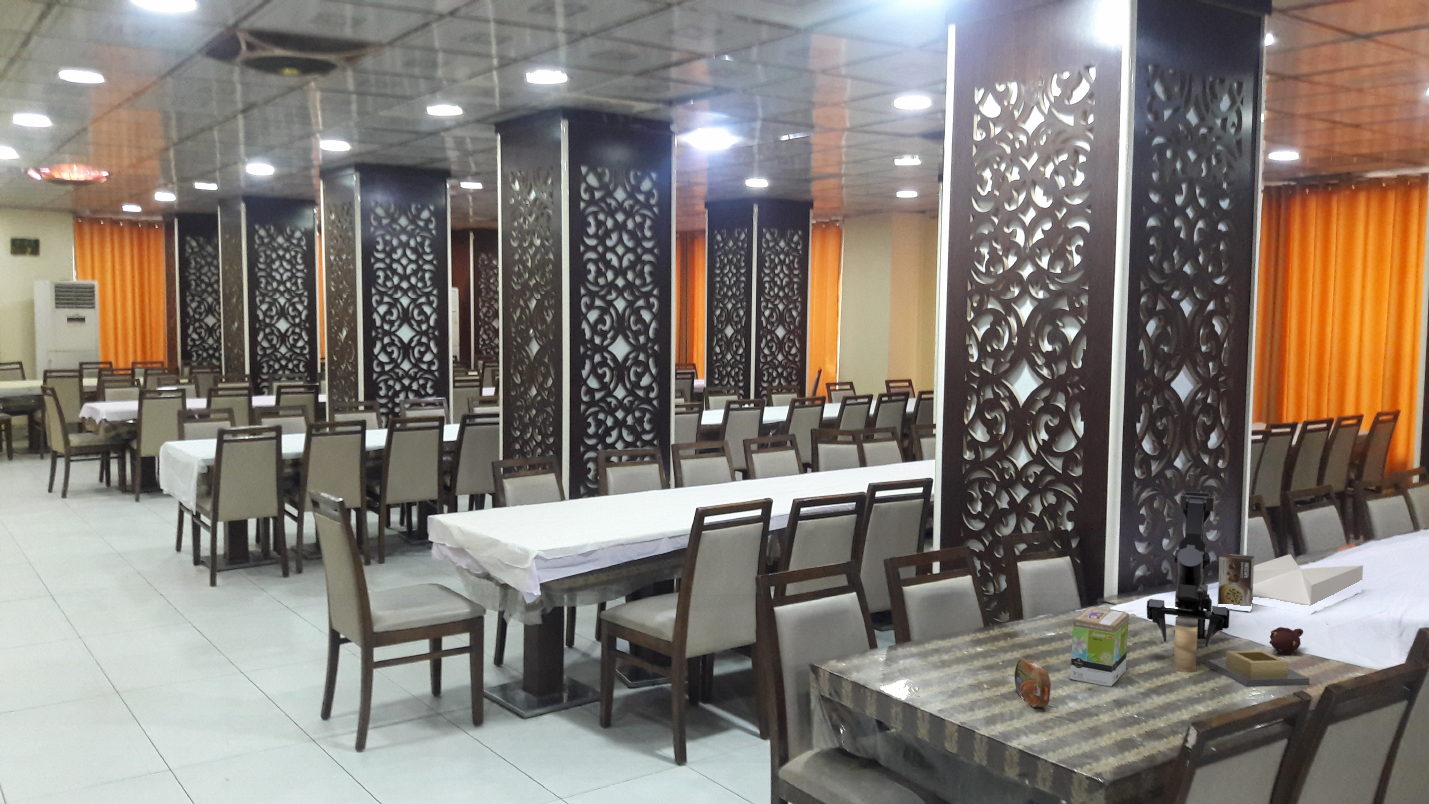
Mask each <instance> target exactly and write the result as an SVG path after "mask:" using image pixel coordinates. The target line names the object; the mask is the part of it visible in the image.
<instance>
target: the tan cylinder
mask: <svg viewBox="0 0 1429 804" xmlns="http://www.w3.org/2000/svg"><path fill="white" fill-rule="evenodd" d="M1174 625H1175V626H1174V630H1175V633H1174V645H1173V646H1174V647H1173V648H1174V649H1173V669H1174V670H1175V669H1176V671H1178V670H1179V672H1182V671H1185V672H1184V673H1194V672H1196V671H1197V670H1196V669H1197V668H1196V667H1197V648H1198V638H1197V629H1198V619H1196V618H1193V617H1188V616H1177V615H1176V616H1175V623H1174Z"/></svg>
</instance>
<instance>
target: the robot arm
mask: <svg viewBox="0 0 1429 804" xmlns="http://www.w3.org/2000/svg"><path fill="white" fill-rule="evenodd" d="M1179 502H1180V503H1179V504H1180V505H1179V506H1180V507H1179V508H1180V509H1182V514H1183V517H1184V518H1185V519H1186V521H1185V523H1186V524H1185V535H1184V537H1183V538H1182V539H1181V540H1179V546H1178V549H1177V548H1176V550H1175V553H1174V563H1175V564H1177V572H1178V573H1177V575H1178V576H1177V582H1176V583H1177V586H1176V587H1177V588H1176V590H1175V598H1174V606H1168V605H1167V606H1166V605H1165V600H1163V599H1153V598H1150V599H1147V603H1146V618H1147V619H1148V620H1152V623H1154V624H1156V625H1157V626H1158V629H1159V631H1160V633H1161V635H1162V639H1163V642H1167V624H1166V623H1167V622H1166V615H1168V616H1170V615H1171V616H1176V617H1177V616H1188V617H1193V618H1196V619H1198V629H1197V639H1205V645H1204V646H1205V647H1208V646H1209V644H1210V642H1211V641H1212V639H1213V638H1214V637H1215V635H1216V633H1217V632H1218V631H1221V632H1222V631H1223V630H1225V629H1226V630H1227V629H1229V627H1230V611H1231V610H1229V609H1228V608H1226V607H1218V605H1217V606H1215V605H1213V604H1212V603H1213V600H1212V599H1211V597H1210V594H1209V593H1208V592H1209V591H1208V587H1209V585H1207V584H1205V583H1204V581H1203V577H1204V576H1203V570H1205V567H1208V566H1209V565H1210V564H1211V556H1210V554H1209V552H1208V551H1207V552H1206V547H1207V544H1206V542H1205V541H1204V535H1205V534H1204V533H1205V525H1206V523H1207V522H1208V521H1209V519H1210V518H1211V516H1212V515H1211V514H1212V512H1214V511H1215V510H1214V509H1215V496H1211V494H1210V492H1199V491H1188V490H1187V491H1185V494H1180V501H1179ZM1206 620H1208V621H1209V622H1208V627H1207V630H1206ZM1173 633H1174V634H1175V629H1174V631H1173Z"/></svg>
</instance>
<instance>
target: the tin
mask: <svg viewBox="0 0 1429 804" xmlns="http://www.w3.org/2000/svg"><path fill="white" fill-rule="evenodd" d="M1014 685H1015V690H1016V693H1017V694H1020V696H1022V697H1023V698H1024V699H1025V700H1026V701H1027V702H1028V703H1029V704H1030V705H1031V706H1032V708H1046V707H1047V706H1048V705H1049V702H1050V697H1051V686H1052V683H1051V678H1050V675H1049V673H1048V671H1047V670H1046V669H1044V668H1043V667H1042V666H1041V665H1040V664H1038V663H1037V662H1035V661H1034V660H1032V659H1023V658H1021V659H1019V660H1018V661H1017V663H1016V665H1015V670H1014ZM1020 696H1019V697H1020ZM1024 699H1023V700H1024ZM1025 700H1024V701H1025ZM1026 701H1025V702H1026ZM1027 702H1026V703H1027ZM1028 703H1027V704H1028ZM1029 704H1028V705H1029ZM1030 705H1029V706H1030ZM1031 706H1030V707H1031Z"/></svg>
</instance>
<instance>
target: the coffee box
mask: <svg viewBox="0 0 1429 804" xmlns="http://www.w3.org/2000/svg"><path fill="white" fill-rule="evenodd" d="M1254 566H1255V556H1254V555H1247V554H1246V555H1245V554H1237V553H1236V554H1235V553H1225V552H1221V554H1220V556H1219V557H1218V589H1217V591H1218V592H1217V605H1218V604H1233V605H1240V606H1251V604H1252V600H1253V572H1254ZM1252 605H1253V604H1252Z"/></svg>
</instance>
